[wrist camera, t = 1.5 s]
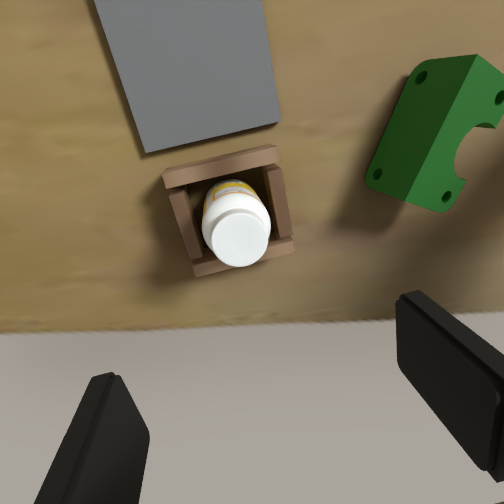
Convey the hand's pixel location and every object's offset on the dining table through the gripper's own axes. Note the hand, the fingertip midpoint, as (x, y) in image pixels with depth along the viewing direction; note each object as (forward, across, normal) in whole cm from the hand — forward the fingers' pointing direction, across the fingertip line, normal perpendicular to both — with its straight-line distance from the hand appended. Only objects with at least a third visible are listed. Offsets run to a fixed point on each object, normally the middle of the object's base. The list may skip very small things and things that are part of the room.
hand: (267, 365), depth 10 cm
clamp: (+22, -19, -2) cm, 29 cm away
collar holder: (+21, 0, 0) cm, 21 cm away
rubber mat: (+21, 0, -12) cm, 25 cm away
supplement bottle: (+22, 0, 0) cm, 22 cm away
